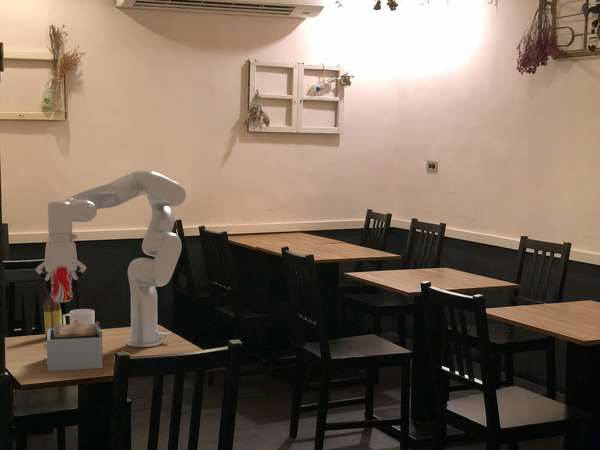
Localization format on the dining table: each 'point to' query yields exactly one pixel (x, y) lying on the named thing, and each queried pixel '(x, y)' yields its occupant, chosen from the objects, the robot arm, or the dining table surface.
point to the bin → (74, 351)
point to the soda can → (61, 284)
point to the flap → (74, 330)
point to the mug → (80, 317)
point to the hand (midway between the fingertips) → (61, 291)
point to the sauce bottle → (51, 313)
